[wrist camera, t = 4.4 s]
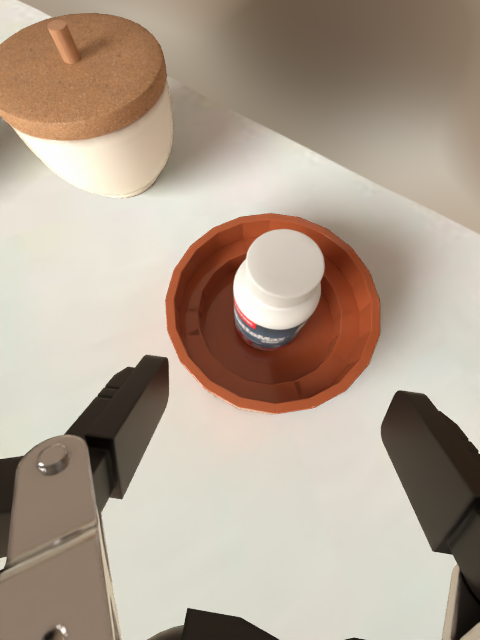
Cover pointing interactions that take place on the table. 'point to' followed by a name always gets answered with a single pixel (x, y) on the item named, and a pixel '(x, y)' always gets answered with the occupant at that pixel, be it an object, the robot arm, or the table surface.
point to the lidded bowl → (90, 100)
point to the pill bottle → (277, 288)
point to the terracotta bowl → (298, 356)
